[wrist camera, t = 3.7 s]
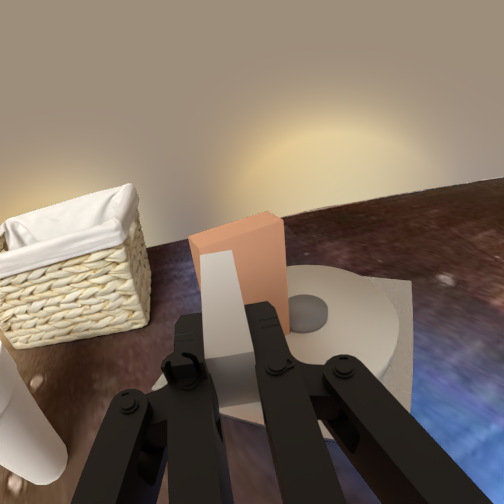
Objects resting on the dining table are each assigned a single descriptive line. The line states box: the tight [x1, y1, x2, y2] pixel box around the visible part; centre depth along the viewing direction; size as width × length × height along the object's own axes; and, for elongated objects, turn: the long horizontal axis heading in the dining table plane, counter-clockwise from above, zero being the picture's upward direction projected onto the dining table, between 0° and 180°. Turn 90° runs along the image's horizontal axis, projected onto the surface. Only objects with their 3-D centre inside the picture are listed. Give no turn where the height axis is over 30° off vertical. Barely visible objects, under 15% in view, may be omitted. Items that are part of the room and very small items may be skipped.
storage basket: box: [0, 183, 151, 349], centre depth 39 cm, size 24×16×15 cm
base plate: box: [152, 276, 413, 442], centre depth 34 cm, size 24×24×1 cm
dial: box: [188, 211, 399, 379], centre depth 30 cm, size 20×20×14 cm
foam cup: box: [0, 340, 68, 485], centre depth 18 cm, size 10×9×13 cm
